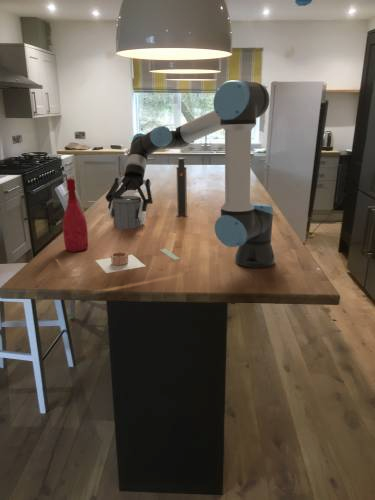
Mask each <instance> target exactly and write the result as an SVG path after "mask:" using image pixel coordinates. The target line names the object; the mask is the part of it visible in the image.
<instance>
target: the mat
mask: <svg viewBox="0 0 375 500" xmlns="http://www.w3.org/2000/svg"><path fill="white" fill-rule="evenodd" d="M160 251H161V252H162V253H164V254H165V255H166V256H169V257H170V259H172V260H175V261H177V260H180V259H181V258H180V257H179V256H176V255H175V253H173V252H171V251H169V250H168V249H166V248H162V249H161V248H160Z"/></svg>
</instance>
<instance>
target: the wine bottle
mask: <svg viewBox="0 0 375 500" xmlns="http://www.w3.org/2000/svg"><path fill="white" fill-rule="evenodd" d="M66 185H67V186H66V187H67V188H66V189H67V193H68V195H67V196H68V197H67V198H68V199H67V205H66V207H65V211H64V214H63V218H62V233H63V241H64V247H65V250H66V251H68V252H70V253H71V252H72V253H73V252H75V253H76V252H77V253H78V252H82V251H83V252H84V251H85V250H86V249H88V247H89V238H88V236H89V235H88V223H87V220H86V217H85V214H84V212H83V210H82V209H81V207H80V205H79V201H78V199H77V196H76V189H77V188H76V180H75V179H74V178H67V179H66Z"/></svg>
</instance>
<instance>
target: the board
mask: <svg viewBox="0 0 375 500" xmlns="http://www.w3.org/2000/svg"><path fill="white" fill-rule="evenodd" d="M94 261H95V262H96V263H97V265H98V266H99V267H100V268H101V269H102V270H103V272H105V273H106V274H110V273H115V272H116V273H117V272H121V271H127V270H133V269H138V268H139V269H140V268H144V267H146V265H145V264H144V263H142V261H140V260H139V259H138V258H137V257H136V256H134V255H133V254H128V263H127V264H125V265H121V266H116V265H114V264H112V262H111V257H108V258H101V259H96V260H94Z"/></svg>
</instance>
